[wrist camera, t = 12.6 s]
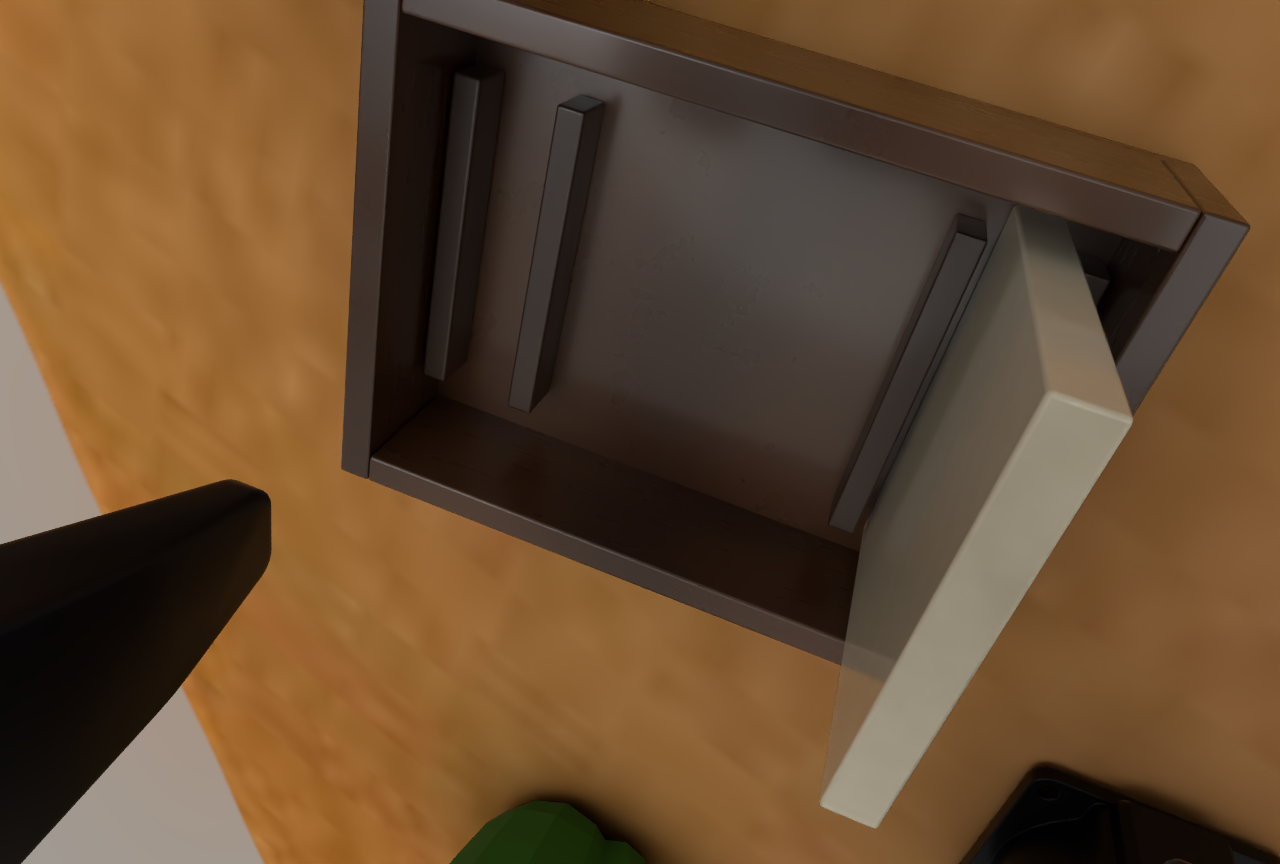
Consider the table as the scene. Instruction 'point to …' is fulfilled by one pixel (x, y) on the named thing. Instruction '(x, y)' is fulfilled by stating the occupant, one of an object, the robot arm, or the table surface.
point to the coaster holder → (701, 284)
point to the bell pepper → (544, 839)
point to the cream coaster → (972, 506)
